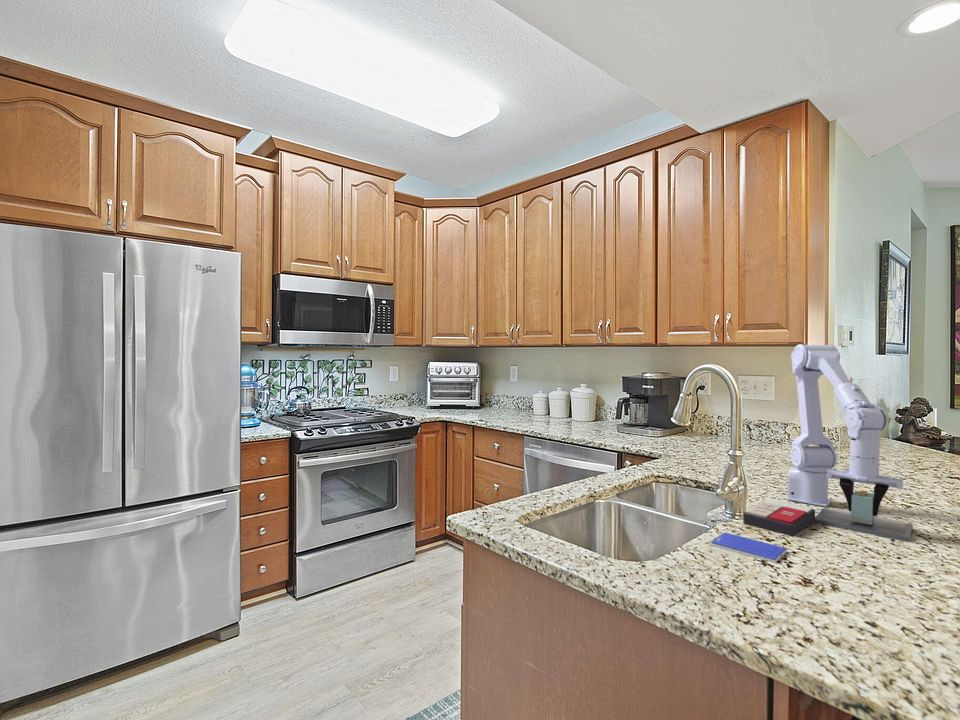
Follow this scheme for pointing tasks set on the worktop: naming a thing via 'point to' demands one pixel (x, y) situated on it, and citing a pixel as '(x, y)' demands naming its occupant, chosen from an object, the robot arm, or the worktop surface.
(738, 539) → the hard drive
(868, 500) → the block
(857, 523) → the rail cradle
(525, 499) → the worktop surface
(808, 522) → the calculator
